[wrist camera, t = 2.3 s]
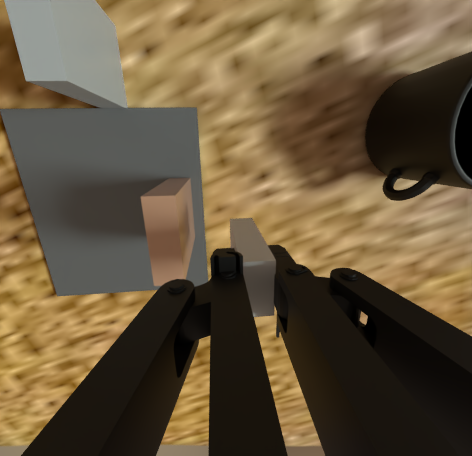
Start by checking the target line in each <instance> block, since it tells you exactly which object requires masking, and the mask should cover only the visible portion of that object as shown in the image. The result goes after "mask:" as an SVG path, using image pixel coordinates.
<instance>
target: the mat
mask: <svg viewBox="0 0 472 456" xmlns="http://www.w3.org/2000/svg"><path fill="white" fill-rule="evenodd" d="M0 112H1V116H2V119H3V122H4V125H5V128H6V132H7V135H8V138H9V141H10V145H11V148H12V151H13V154H14V158H15V161H16V164H17V167H18V170H19V174H20V177H21V180H22V183H23V187H24V190H25V193H26V196H27V200H28V203H29V206H30V209H31V212H32V216H33V219H34V222H35V225H36V229H37V232H38V235H39V238H40V242H41V245H42V248H43V251H44V254H45V258H46V261H47V264H48V267H49V271H50V274H51V277H52V280H53V284H54V287H55V290H56V293H57V296H69V295H84V294H100V293H115V292H130V291H146V290H158V289H159V288H160V287H161V286H154V282H153V275H152V269H151V262H150V256H149V249H148V242H147V236H146V229H145V223H144V216H143V210H142V203H141V196H142V195H144V194H145V193H147V192H149V191H150V190H152V189H153V188H155V187H156V186H158V185H159V184H161V183H163V182H164V181H166V180H167V179H169V178H190V180H191V192H192V205H193V217H194V229H195V239H194V244H193V249H192V253H191V258H190V262H189V267H188V271H187V276H186V280H189V281H191V282H193V284H194V287H195V286H199V285H202V284H204V283H206V282H208V271H207V256H206V241H205V226H204V211H203V196H202V180H201V165H200V150H199V135H198V120H197V108H63V109H0Z"/></svg>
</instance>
